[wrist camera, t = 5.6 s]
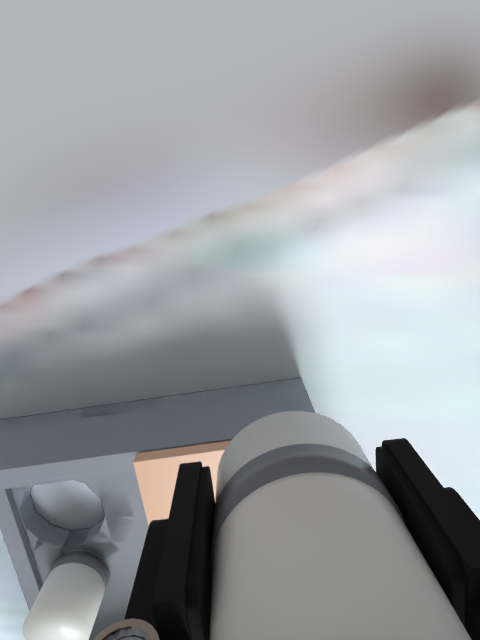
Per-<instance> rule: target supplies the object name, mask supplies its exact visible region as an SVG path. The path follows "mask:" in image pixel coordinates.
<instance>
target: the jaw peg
mask: <svg viewBox="0 0 480 640" xmlns="http://www.w3.org/2000/svg"><path fill="white" fill-rule="evenodd" d="M211 562H212V568H213V573H212V596H211V619H210V640H471V638H470V636H469V634H468V633H467V631H466V629H465V627H464V626H463V624H462V622H461V621H460V619H459V617H458V615H457V614H456V612H455V610H454V608H453V607H452V605H451V603H450V601H449V600H448V598H447V596H446V594H445V593H444V591H443V589H442V588H441V586H440V584H439V582H438V581H437V579H436V577H435V575H434V574H433V572H432V570H431V568H430V567H429V565H428V563H427V561H426V560H425V558H424V556H423V555H422V553H421V551H420V549H419V548H418V546H417V544H416V542H415V541H414V539H413V537H412V535H411V534H410V532H409V530H408V528H407V527H406V522H405V520H404V517H403V515H402V513H401V511H400V510H399V508H398V506H397V505H396V503H395V501H394V500H393V498H392V496H391V494H390V493H389V491H388V489H387V488H386V486H385V484H384V483H383V481H382V480H381V478H380V477H379V475H378V474H377V473H376V472H375V471H374V469H373V468H372V466H371V464H370V462H369V461H368V459H367V457H366V455H365V454H364V452H363V450H362V448H361V447H360V445H359V444H358V442H357V441H356V439H355V438H354V436H353V435H352V434H351V433H350V432H349V431H348V430H347V429H346V428H344V427H343V426H342V425H341V424H339V423H337V422H336V421H334V420H332V419H330V418H328V417H326V416H323V415H320V414H316V413H312V412H306V411H285V412H279V413H274V414H271V415H268V416H265V417H263V418H260V419H258V420H256V421H254V422H253V423H251V424H249V425H248V426H246V427H245V428H244V429H242V430H241V431H240V432H239V433H238V434H237V435H236V436H235V437H234V438H233V439H232V440H231V442H230V443H229V444H228V446H227V447H226V449H225V451H224V452H223V454H222V457H221V459H220V462H219V465H218V470H217V481H216V504H215V509H214V514H213V525H212V545H211Z"/></svg>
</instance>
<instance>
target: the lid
mask: <svg viewBox="0 0 480 640" xmlns="http://www.w3.org/2000/svg"><path fill="white" fill-rule="evenodd" d="M230 442H231V441H224V442H217V443H210V444H202V445H195V446H188V447H180V448H173V449H166V450H158V451H151V452H144V453H137V454H136V456H135V459H134V461H133V464H134V468H135V472H136V476H137V480H138V484H139V489H140V493H141V497H142V501H143V505H144V509H145V514H146V518H147V522H148V526H149V524H150V522H151V521H152V520H161V519H169V514H170V509H171V504H172V499H173V494H174V489H175V484H176V480H177V475H178V470H179V465H180V464H181V463H190V462H199V461H201V463H202V467H205V466H209V467H210V471H211V478H212V484H213V491H214V497H215V503H216V481H217V470H218V465H219V462H220V459H221V457H222V454H223V452H224V451H225V449H226V447H227V446H228V444H229V443H230Z"/></svg>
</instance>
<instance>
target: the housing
mask: <svg viewBox="0 0 480 640" xmlns="http://www.w3.org/2000/svg"><path fill="white" fill-rule="evenodd" d="M285 411H306V412H312V413H315V411H314V409H313V406H312V404H311V401H310V399H309V396H308V394H307V392H306V389H305V387H304V384H303V382H302V379H301V378H296V379H289V380H282V381H275V382H267V383H260V384H253V385H246V386H239V387H232V388H224V389H217V390H210V391H203V392H196V393H188V394H181V395H174V396H167V397H160V398H153V399H145V400H138V401H131V402H124V403H117V404H110V405H102V406H95V407H88V408H81V409H74V410H66V411H59V412H52V413H45V414H38V415H31V416H23V417H16V418H9V419H2V420H0V529H1V532H2V535H3V537H4V538H3V540H4V541H5V543H6V546H7V549H8V551H9V554H10V557H11V560H12V563H13V566H14V568H15V571H16V574H17V577H18V580H19V582H20V585H21V588H22V591H23V594H24V597H25V599H26V602H27V605H28V608H29V611H30V612H29V614H28V616H27V618H26V620H25V622H24V624H23V635H24V638H25V640H93V639H94V638H95V636H96V635H97V634H98V633H100V632H101V631H102V630H104V629H105V628H107V627H108V626H109V625H112V624H114V623H116V622H118V621H121V620H124V619H125V615H126V611H127V607H128V603H129V599H130V596H131V592H132V588H133V584H134V580H135V577H136V573H137V569H138V565H139V561H140V557H141V554H142V550H143V546H144V542H145V538H146V535H147V531H148V527H149V526H148V522H147V518H146V514H145V509H144V505H143V501H142V497H141V493H140V489H139V484H138V480H137V476H136V472H135V468H134V464H133V461H134V459H135V456H136V454H137V453H144V452H151V451H158V450H166V449H173V448H180V447H188V446H195V445H202V444H210V443H217V442H224V441H231V440H232V439H233V438H234V437H235V436H236V435H237V434H238V433H239V432H240V431H241V430H242V429H244V428H245V427H246V426H248V425H249V424H251V423H253V422H254V421H256V420H258V419H260V418H263V417H265V416H268V415H271V414H274V413H279V412H285ZM68 480H76V481H79V482H82V483H85V484H86V485H87V486H88V487H89V488H90V489H91V490H92V491H93V492H94V493H95V494H96V495H97V496H99V497H100V499H101V503H102V507H103V510H104V514H105V518H104V519H102V520H101V521H100V522H98V523H97V524H96V525H94V526H93V527H91V528H88V529H80V530H73V531H69V530H66V529H63V528H60V527H56V526H53V525H50V524H49V523H48V522H47V521H46V520H45V519H44V518H43V517H41V516H40V515H39V514H38V513H37V512H36V511H35V507H34V504H33V501H32V498H31V495H30V493H31V489H32V486H33V485H38V484H46V483H53V482H60V481H68Z"/></svg>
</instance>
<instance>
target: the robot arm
mask: <svg viewBox="0 0 480 640" xmlns="http://www.w3.org/2000/svg"><path fill="white" fill-rule="evenodd" d="M376 473H377V474H378V475H379V477H380V478H381V480H382V481H383V483H384V484H385V486H386V488H387V489H388V491H389V493H390V494H391V496H392V498H393V500H394V501H395V503H396V505H397V506H398V508H399V510H400V511H401V513H402V515H403V517H404V520H405V522H406V527H407V528H408V530H409V532H410V534H411V535H412V537H413V539H414V541H415V542H416V544H417V546H418V548H419V549H420V551H421V553H422V555H423V556H424V558H425V560H426V561H427V563H428V565H429V567H430V568H431V570H432V572H433V574H434V575H435V577H436V579H437V581H438V582H439V584H440V586H441V588H442V589H443V591H444V593H445V594H446V596H447V598H448V600H449V601H450V603H451V605H452V607H453V608H454V610H455V612H456V614H457V615H458V617H459V619H460V621H461V622H462V624H463V626H464V627H465V629H466V631H467V633H468V634H469V636H470V638H471V640H480V520H479V519H478V518H477V517H476V515H475V514H474V513H473V512H472V510H471V509H470V508H469V506H468V505H467V504H466V503H465V501H464V500H463V499H462V498H461V496H460V495H459V494H458V493H457V492H456V491H455V490H454V489H453V488H450V487H447V488H443V486H442V485H441V484H440V482H439V481H438V480H437V479H436V477H435V476H434V475H433V473H432V472H431V471H430V469H429V468H428V467H427V465H426V464H425V463H424V461H423V460H422V459H421V457H420V456H419V455H418V454H417V452H416V451H415V450H414V448H413V447H412V446H411V444H410V443H409V442H408V440H407V439H405V438H402V439H393V440H384V441H383V442H382V447H377V448H376ZM215 504H216V503H215V497H214V491H213V484H212V478H211V471H210V467H209V466H205V467H202V463H201V461H199V462H190V463H181V464H180V465H179V470H178V475H177V480H176V484H175V489H174V494H173V499H172V504H171V509H170V514H169V519H161V520H152V521H151V522H150V524H149V527H148V531H147V535H146V538H145V542H144V546H143V550H142V554H141V557H140V561H139V565H138V569H137V573H136V577H135V580H134V584H133V588H132V592H131V596H130V599H129V603H128V607H127V611H126V615H125V619H124V620H121V621H118V622H116V623H114V624H112V625H109V626H108V627H107V628H105V629H104V630H102V631H101V632H100V633H98V634H97V635H96V636H95V638H94V639H93V640H210V619H211V596H212V573H213V568H212V562H211V545H212V525H213V514H214V509H215Z"/></svg>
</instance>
